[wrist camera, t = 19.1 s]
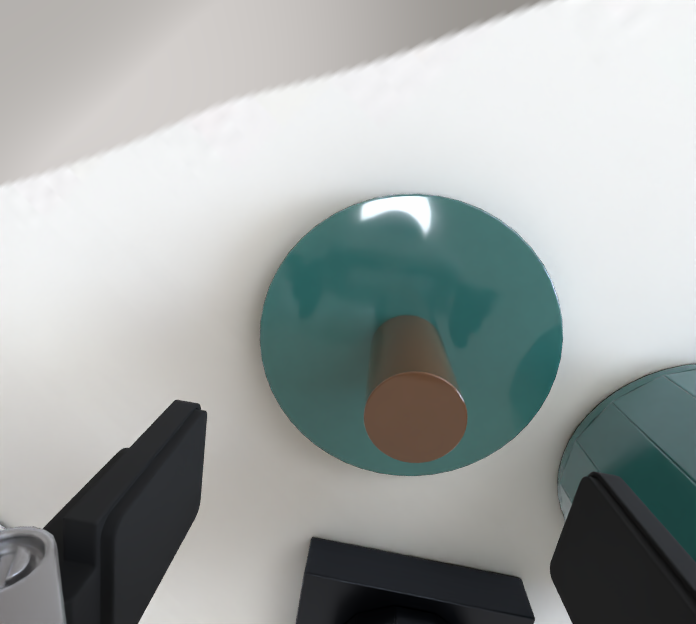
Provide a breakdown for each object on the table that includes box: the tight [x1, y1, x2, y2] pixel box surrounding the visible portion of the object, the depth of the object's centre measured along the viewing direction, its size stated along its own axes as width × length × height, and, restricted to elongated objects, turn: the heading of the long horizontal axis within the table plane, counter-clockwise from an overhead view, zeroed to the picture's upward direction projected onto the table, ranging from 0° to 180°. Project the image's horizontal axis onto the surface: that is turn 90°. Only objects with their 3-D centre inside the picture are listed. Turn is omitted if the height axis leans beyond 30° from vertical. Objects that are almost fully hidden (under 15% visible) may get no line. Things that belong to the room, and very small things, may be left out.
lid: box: [260, 194, 563, 476], centre depth 16 cm, size 12×12×7 cm
